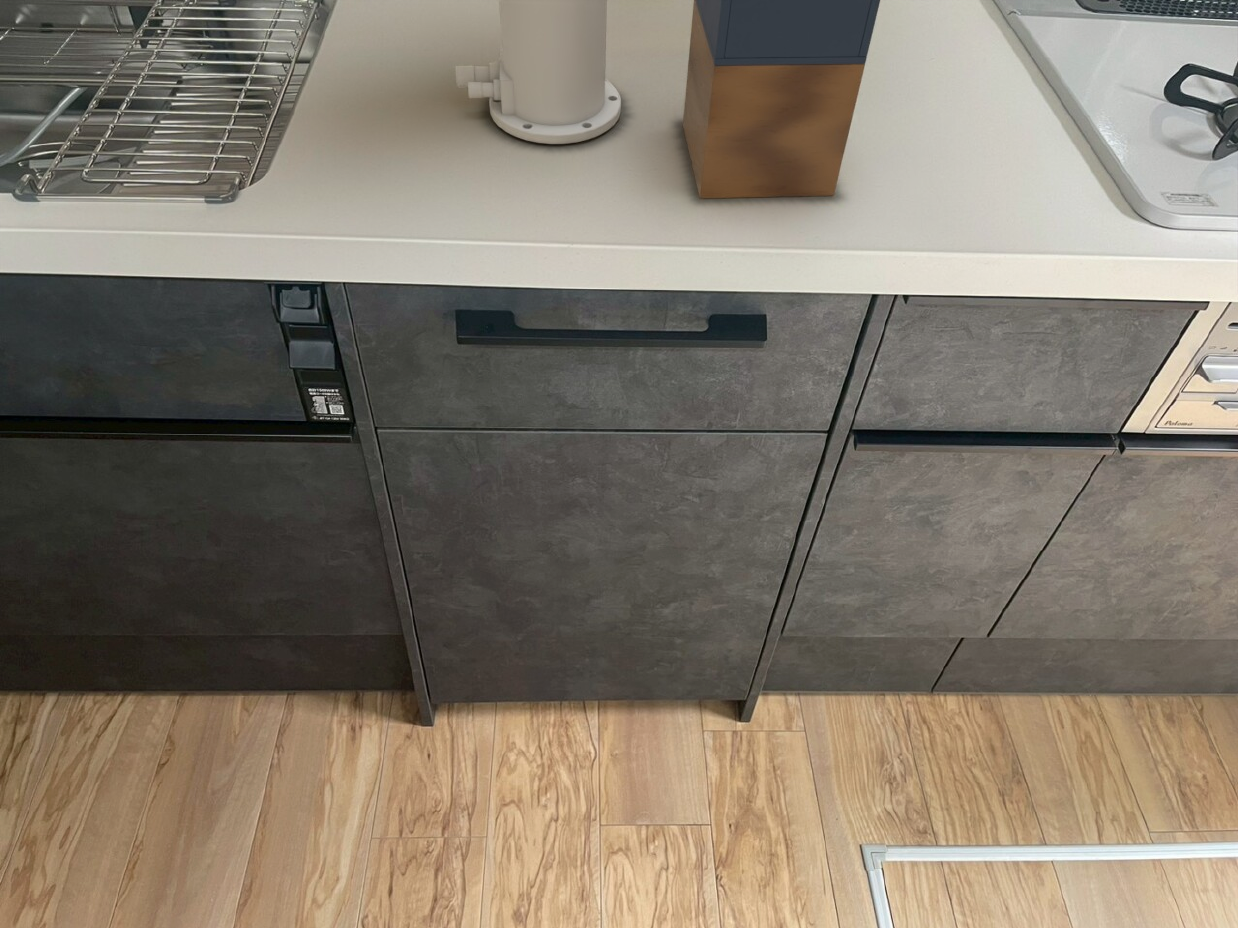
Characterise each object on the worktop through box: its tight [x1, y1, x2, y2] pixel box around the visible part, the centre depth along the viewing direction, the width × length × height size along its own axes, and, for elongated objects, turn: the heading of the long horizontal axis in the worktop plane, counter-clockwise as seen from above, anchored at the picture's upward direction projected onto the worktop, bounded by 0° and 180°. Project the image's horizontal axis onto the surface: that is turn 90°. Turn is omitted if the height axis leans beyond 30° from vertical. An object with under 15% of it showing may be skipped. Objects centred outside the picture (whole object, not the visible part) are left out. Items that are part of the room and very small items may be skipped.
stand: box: [682, 0, 866, 199], centre depth 82 cm, size 12×12×12 cm
